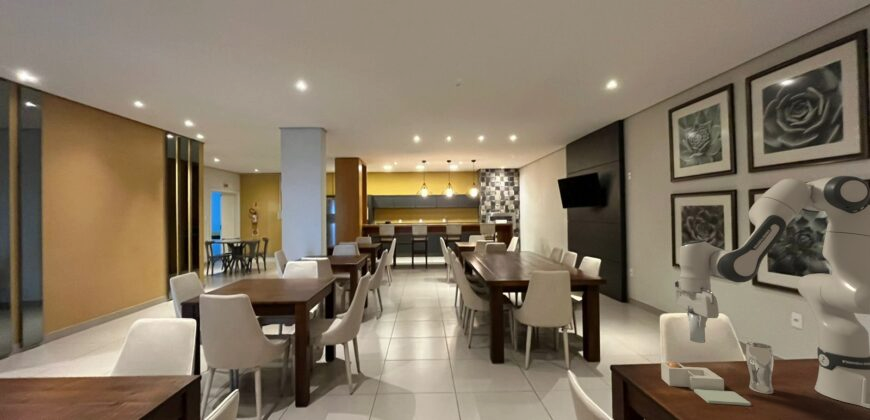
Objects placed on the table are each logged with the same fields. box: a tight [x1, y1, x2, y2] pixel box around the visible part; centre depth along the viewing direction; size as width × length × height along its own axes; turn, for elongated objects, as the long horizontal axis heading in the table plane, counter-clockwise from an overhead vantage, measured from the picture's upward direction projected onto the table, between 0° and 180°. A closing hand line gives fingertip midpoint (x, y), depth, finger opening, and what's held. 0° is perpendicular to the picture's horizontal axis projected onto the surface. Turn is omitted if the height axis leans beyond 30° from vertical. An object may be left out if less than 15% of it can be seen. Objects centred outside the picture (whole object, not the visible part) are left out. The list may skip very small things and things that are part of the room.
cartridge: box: [688, 306, 706, 344], centre depth 127 cm, size 5×5×12 cm
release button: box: [668, 361, 679, 368], centre depth 128 cm, size 3×3×4 cm
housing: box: [660, 361, 725, 391], centre depth 127 cm, size 16×10×6 cm, turn 81°
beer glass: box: [745, 341, 774, 395], centre depth 122 cm, size 7×7×15 cm
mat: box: [693, 389, 752, 407], centre depth 116 cm, size 12×8×1 cm, turn 81°
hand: (697, 324), depth 127 cm, fingers closed on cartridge, 4 cm apart
